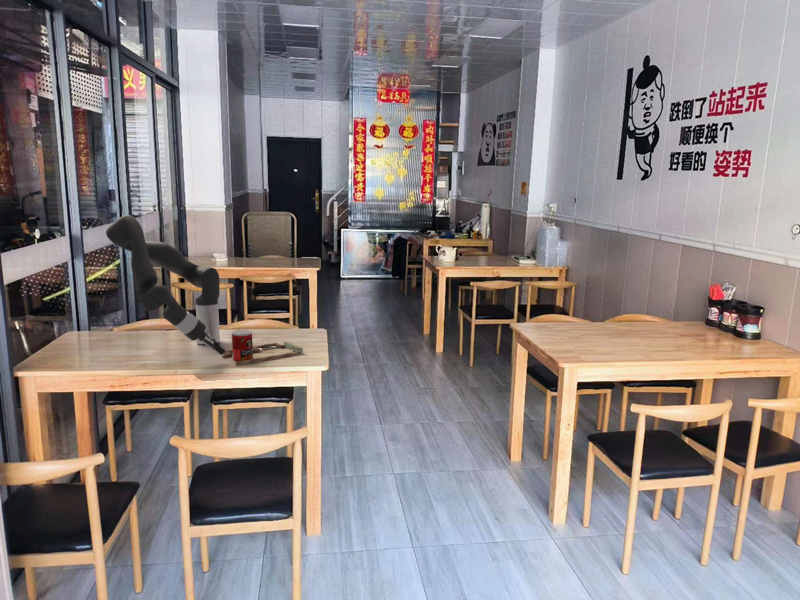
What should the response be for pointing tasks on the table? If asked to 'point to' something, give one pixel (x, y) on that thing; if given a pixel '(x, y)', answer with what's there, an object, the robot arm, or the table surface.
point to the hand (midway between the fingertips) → (223, 352)
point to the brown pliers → (265, 347)
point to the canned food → (242, 345)
